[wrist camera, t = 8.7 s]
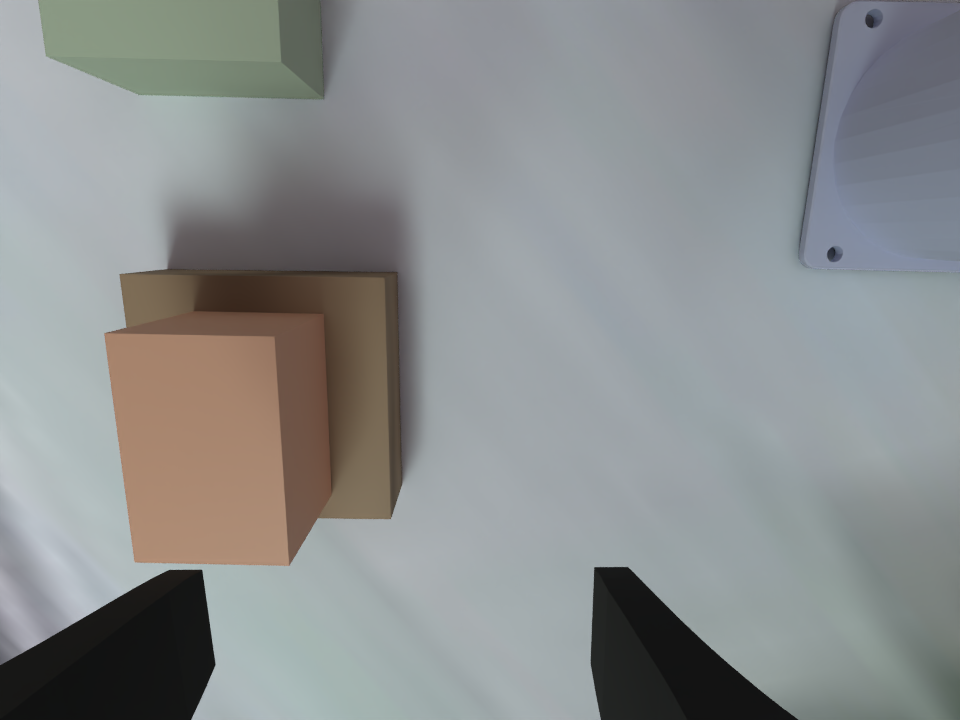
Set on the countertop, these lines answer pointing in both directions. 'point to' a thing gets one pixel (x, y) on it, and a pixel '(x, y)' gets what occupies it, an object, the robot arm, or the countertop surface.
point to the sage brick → (191, 45)
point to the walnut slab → (349, 360)
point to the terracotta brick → (222, 434)
